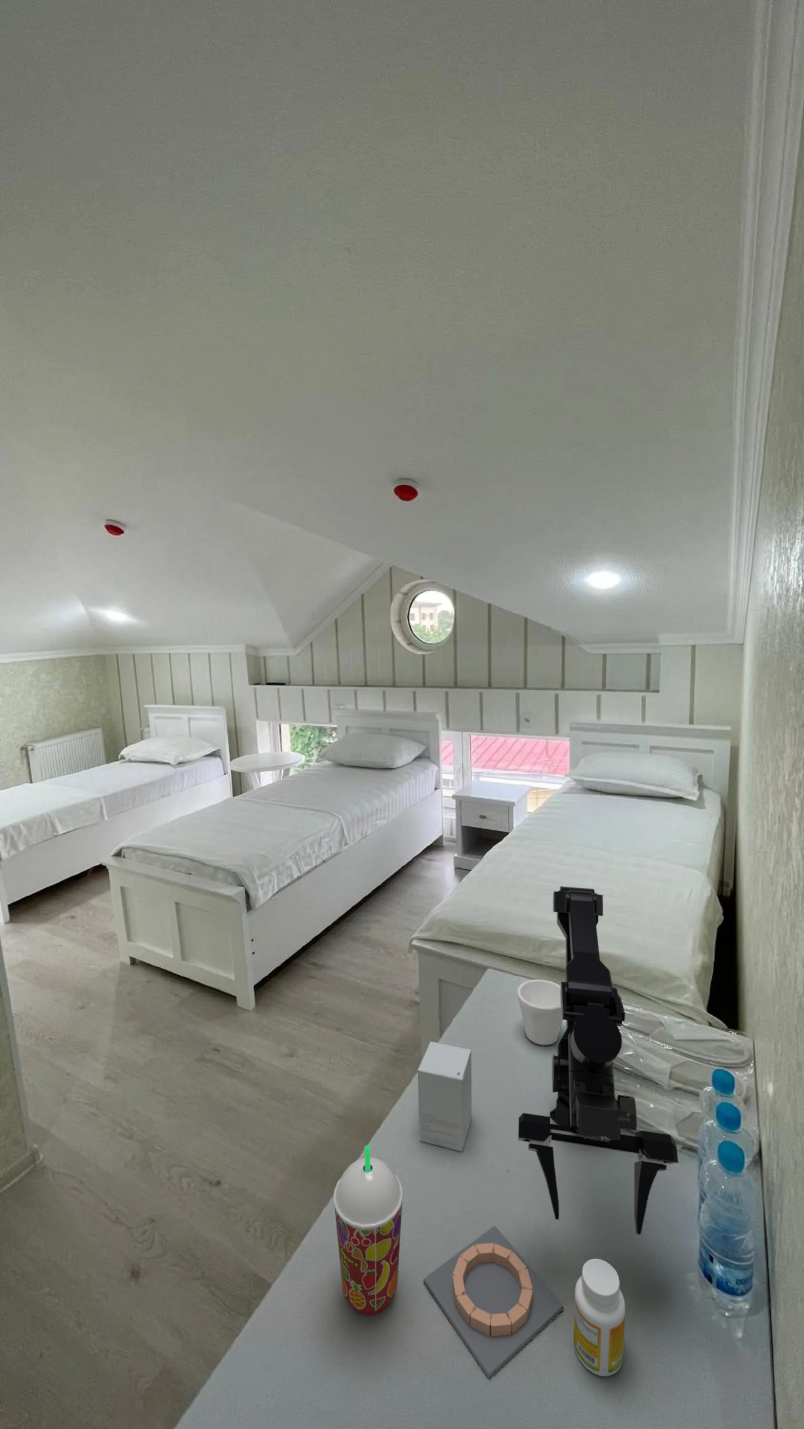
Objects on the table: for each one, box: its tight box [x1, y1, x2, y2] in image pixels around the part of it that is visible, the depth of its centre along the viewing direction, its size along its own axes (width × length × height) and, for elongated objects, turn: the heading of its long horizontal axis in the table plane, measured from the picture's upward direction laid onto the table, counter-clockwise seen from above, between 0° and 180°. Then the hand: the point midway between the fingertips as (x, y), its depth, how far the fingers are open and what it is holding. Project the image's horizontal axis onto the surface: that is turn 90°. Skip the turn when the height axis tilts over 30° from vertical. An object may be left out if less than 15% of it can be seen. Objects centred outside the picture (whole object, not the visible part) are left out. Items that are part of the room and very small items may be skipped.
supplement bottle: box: [573, 1258, 626, 1377], centre depth 69 cm, size 5×5×10 cm
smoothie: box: [332, 1145, 404, 1317], centre depth 74 cm, size 8×8×20 cm
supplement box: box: [417, 1041, 473, 1152], centre depth 99 cm, size 7×7×13 cm
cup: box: [516, 979, 563, 1047], centre depth 122 cm, size 10×10×9 cm
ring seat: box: [423, 1225, 564, 1379], centre depth 75 cm, size 12×12×2 cm
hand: (597, 1226), depth 72 cm, fingers open, 9 cm apart
